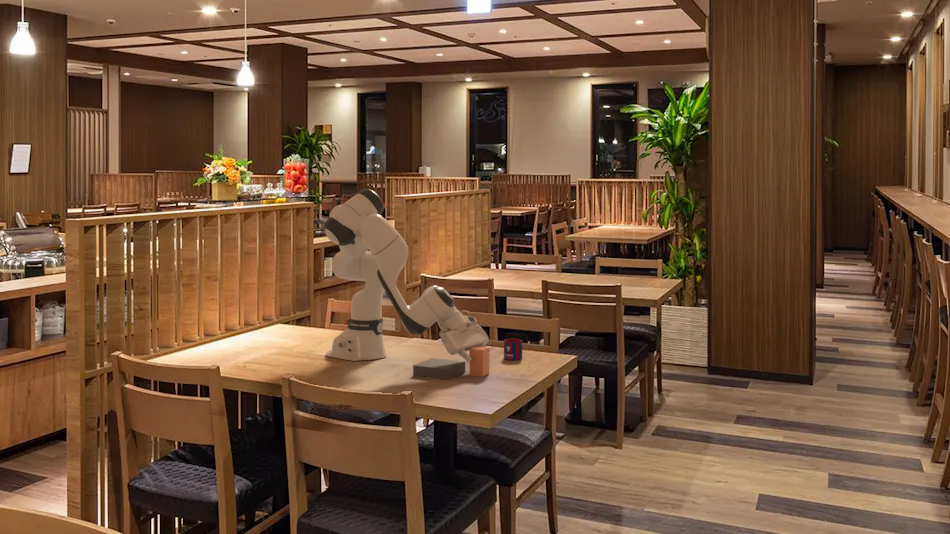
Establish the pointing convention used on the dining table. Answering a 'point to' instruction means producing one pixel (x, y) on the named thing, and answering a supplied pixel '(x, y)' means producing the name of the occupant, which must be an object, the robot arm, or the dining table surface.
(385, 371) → the dining table surface
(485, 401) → the dining table surface
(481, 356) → the terracotta column
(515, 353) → the mug
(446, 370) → the grey flat block
